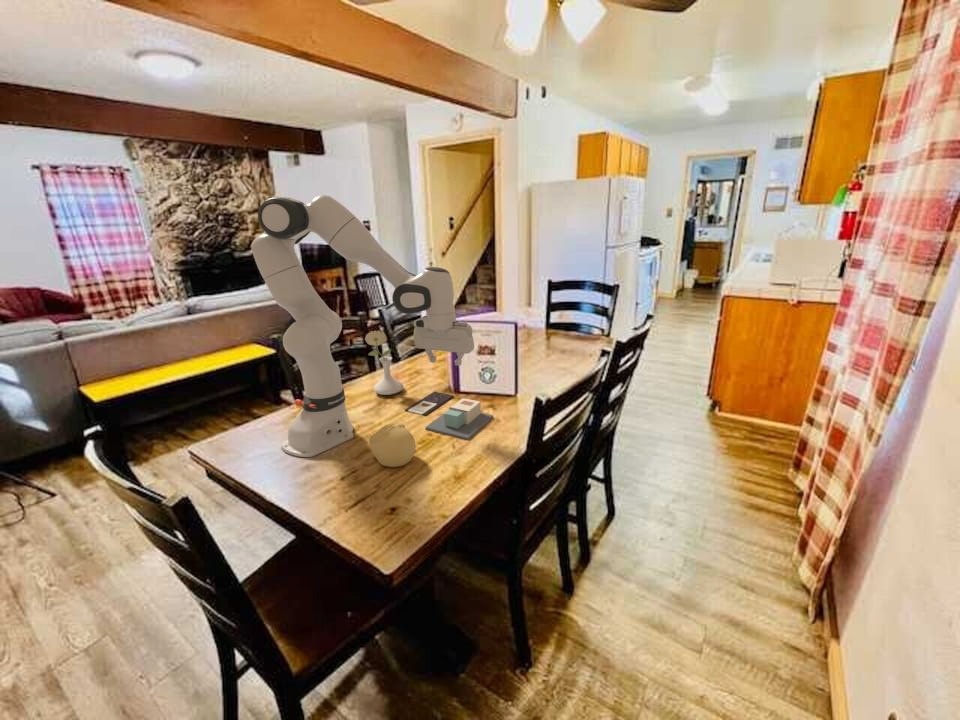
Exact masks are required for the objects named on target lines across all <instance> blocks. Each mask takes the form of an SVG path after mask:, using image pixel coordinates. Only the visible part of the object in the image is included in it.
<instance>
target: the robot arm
mask: <svg viewBox="0 0 960 720" xmlns="http://www.w3.org/2000/svg"><path fill="white" fill-rule="evenodd" d="M257 220H258V224H259V225H260V228H261V229H262V230H263V232H264V233H262V234H259V235H258V236H257V237H256V238H255V239H253V241H252V243H251V252H252V256H253V258H254V261H255V264H256V266H257V269H258V271H259V273H260V275H261V276H262V279H263V280H264V282H265V285H266V286H267V288H268V290H269V292H270V294H271V295H272V297H273V299H274V301H275V303H276V304H277V305H278V306H279V307H281V308H283V309H284V310H286V311H287V312H288V313H289V314H290V316H292V317H293V319H294V320H295V322H293V323H292V324H290V326H289V327H288V328H287V330H286V331H285V333H284V334H283V335H282V336H283V337H282V345H283V348H284V350H285V351H286V352H287V354H289V355H290V356H291V357H292V358H294V360H295V362H296V363H297V366H298V368H299V370H300V373H301V377H302V384H303V388H304V396H303V400H302V399H299V398H297V399H295V401H294V406H295V405H296V406H297V407H302V409H301V410H300V411H299V412H298V414H297V416H296V417H295V418H294V420H293V421H292V422H291V423H290V425H289V426H288V429H287V439H286V440H284V441H283V442H282V443H281V444H280V447H281V448H280V449H282V451H283V452H285V453H286V454H289V455H292V456H295V457H300V458H313V457H314V456H316V455H319V454H321V453H323V452H325V451H327V450H329V449H332V448H334V447H336V446H338V445H340V444H343V443H345V442H346V441H349V440H351V439H353V437H354V433H353V431H354V426H353V423H352V421H351V419H350V417H349V414H348V410H347V407H346V402H345V401H346V394H345V390H344V388H343V385H342V378H341V370H340V366H339V364H338V363H337V362H336V361H335V360H334V358H333V355H332V353H331V344H332V343H333V342H335V341H336V340H337V339H338V338H339V336H340V334H341V331H342V328H343V322H342V318H341V317H340V316H339V314H338V313H337V312H335V311H334V310H332V309H330V308H329V306H328V305H327V304H326V303H325V301H324V300H323V299H322V298H321V296H320V295H319V294H318V293H317V291H316V289H315V288H314V286H313V285H312V283H311V280H310V279H309V277H308V274H307V273H306V271H305V269H304V267H303V265H302V263H301V262H300V259H299V257H298V255H297V253H296V250H295V245H298V244H299V243H300V242H302V240H303V239H305V238H306V237H307V236H308V235H309V234H310V233H313V234H316V235H317V236H319V237H320V238H321V239H322V240H323V241H325V243H326V244H327V245H329V247H330V248H331V249H332V250H334V251H335V252H336V253H337V254H338V255H340V256H342V257H343V258H344V259H345V260H348V261H350V262H354V263H360V264H364V265H366V266H369V267H371V268H372V269H374V270H375V271H376V272H377V273H378V274H380V275H381V277H383V278H384V279H385V280H386V282H387V281H388V283H390V284H391V285H392V287H394V290H393V292H392V297H391V298H392V299H391V300H392V303H393V305H394V307H395V309H396V310H397V311H398V312H400V313H403V314H405V315H413V314H416V313H417V314H418V313H421V312H423V311H424V312H425V313H426V315H423V316H421V317H420V318H417V319H415V320H413V327H414V330H413V340H414V341H413V342H414V345H415V347H416V348H417V349H423V350H425V351H424V352H425V353H426V355H427V357H428V359H429V362H430V363H436V362H437V355H434V353H433V351H442V352H449V353H456V356H457V358H456V359H455V360H454V366H457V367H460V366H462V363H463V362H462V361H463V360H462V359H463V358H464V355H466V354H470V353H472V352H473V351H474V350H475V341H474V336H473V328H472V326H471V325H470V324H468V323H467V322H461V321H457V316H456V307H455V305H454V299H455V291H454V284H453V283H454V282H453V279H452V275H451V273H450V272H449V271H448V270H447V269H445V268H442V267H435V266H427V267H425V268H424V269H423V270H422V271H420V272H419V273H418V274H414V273H411V272H409V271H408V270H406V268H404V267H403V266H402V265H400V263H398V261H396V260H395V259H394V258H393V256H391V255H390V254H389V253H388V252H387V251H386V250H385V249H384V248H383V247H382V246H381V245H380V244H379V242H378V240H377V239H376V238H375V237H374V236H373V234H372V233H371V232H370V231H369V230H368V228H367V227H366V226H365V225H364V224H363V223H362V221H360V220H359V218H357V216H356V215H354V214H353V212H351V211H350V210H349V209H348V208H347V207H346V206H344V205H343V204H342V203H341V202H339V201H338V200H336V199H335V198H333V197H332V196H330V195H327V194H321V195H318V196H316V197H313V199H311V200H310V201H309V202H308V203H306V204H305V203H304V202H302V201H300V200H298V199H295V198H291V197H287V196H286V197H282V196H280V197H279V196H275V197H270V198H267V199H266V200H264V201H263V202H262V203H261V204H260V206H259V208H258V212H257Z"/></svg>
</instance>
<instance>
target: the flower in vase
mask: <svg viewBox="0 0 960 720" xmlns="http://www.w3.org/2000/svg"><path fill="white" fill-rule="evenodd" d="M364 340H365V342H366V343H367V345H370V346H374V347H376V350H377V351H376V350H371V351H370V352H369V353H368V354H367V356H373V357H376V356H378V355H380V356H381V357H380V358H379V359H378V361H380V363H381V365H382V368H383V372H384V373H383V377H382V378H381V379H380V380H379V381H378V382H377V383H376V384H375V386H374V387H373V392H375V393H376V394H377V395H384V396H387V395H389V396H390V395H395V394H397V393H399V392H401V391H402V390H403V388H404V385H403V383H402V382H401V380H398V379H396V378H395V377H393V376H392V375H391V367H390V366H391V363H392V362H391V361H392V360H393V357H391V356H387V355H389V354H390V353H391V352H392V348H390V349H388V350H385V351H384V352H383V354H382V353H380V351H379V346H380V345H383V344H385V343H386V341H387V335H386V334H385V333H384V332H383V331H380V330H374V331H373V330H371V331H370V332H368V333H367V334H366V335H365V338H364Z"/></svg>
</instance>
